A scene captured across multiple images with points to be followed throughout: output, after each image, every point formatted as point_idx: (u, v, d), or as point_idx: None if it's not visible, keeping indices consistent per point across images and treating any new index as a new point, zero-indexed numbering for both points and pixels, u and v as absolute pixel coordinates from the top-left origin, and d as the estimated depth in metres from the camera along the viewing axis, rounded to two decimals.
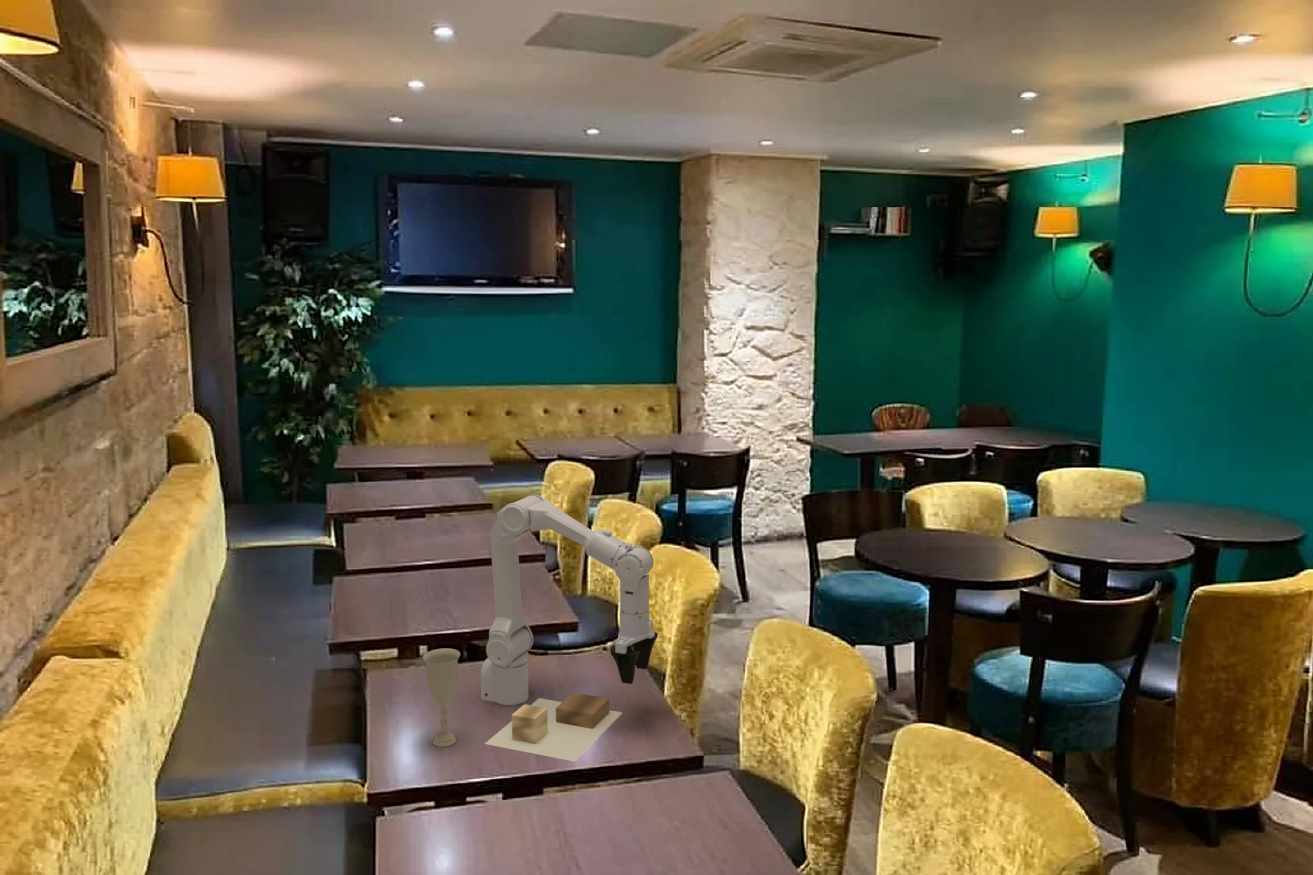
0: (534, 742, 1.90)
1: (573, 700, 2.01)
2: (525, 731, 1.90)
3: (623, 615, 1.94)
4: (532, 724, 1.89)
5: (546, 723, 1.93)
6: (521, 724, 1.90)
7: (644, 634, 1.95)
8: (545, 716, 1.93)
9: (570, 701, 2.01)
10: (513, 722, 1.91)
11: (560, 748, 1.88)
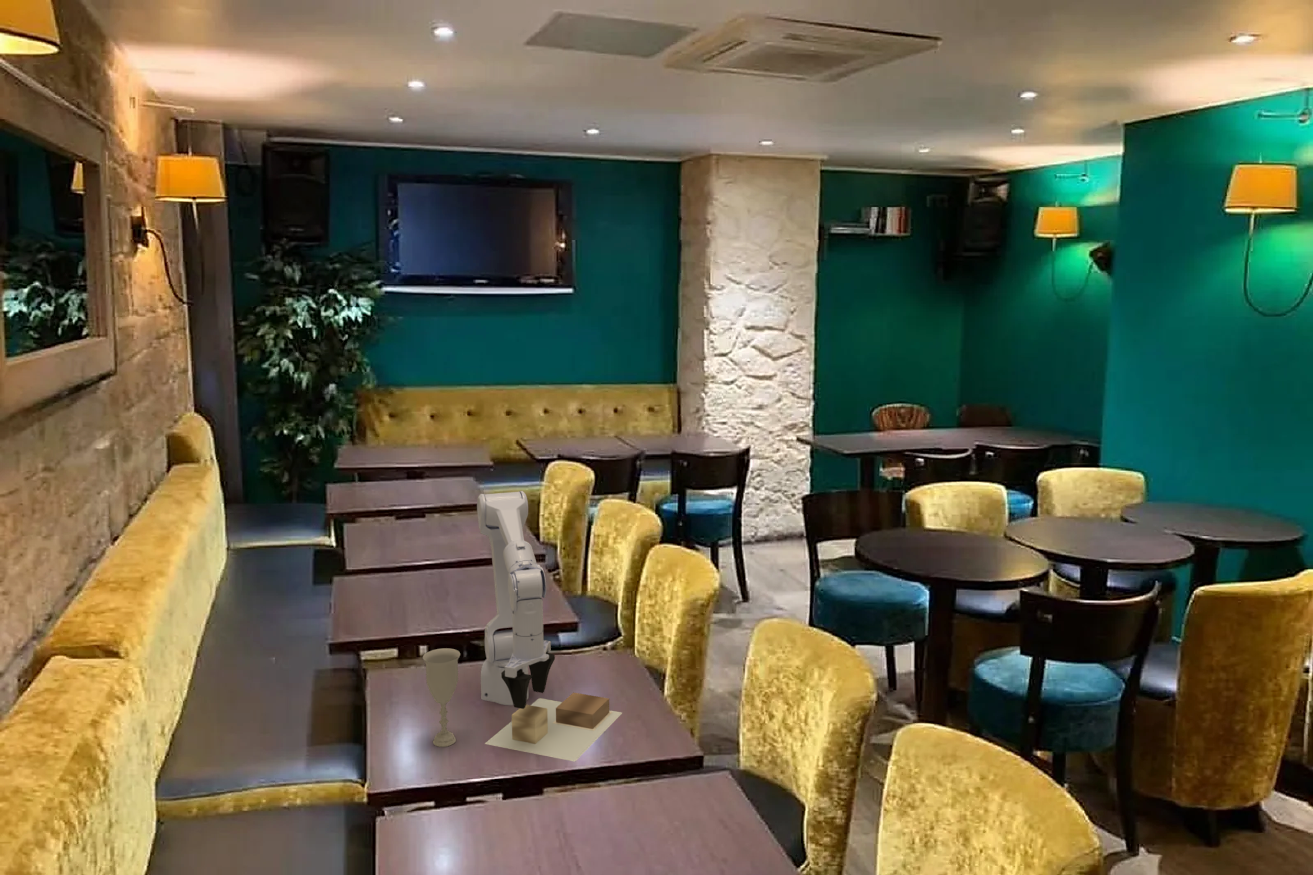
0: (534, 742, 1.90)
1: (573, 700, 2.01)
2: (525, 731, 1.90)
3: (515, 637, 1.87)
4: (532, 724, 1.89)
5: (546, 723, 1.93)
6: (521, 724, 1.90)
7: (537, 657, 1.88)
8: (545, 716, 1.93)
9: (570, 701, 2.01)
10: (513, 722, 1.91)
11: (560, 748, 1.88)
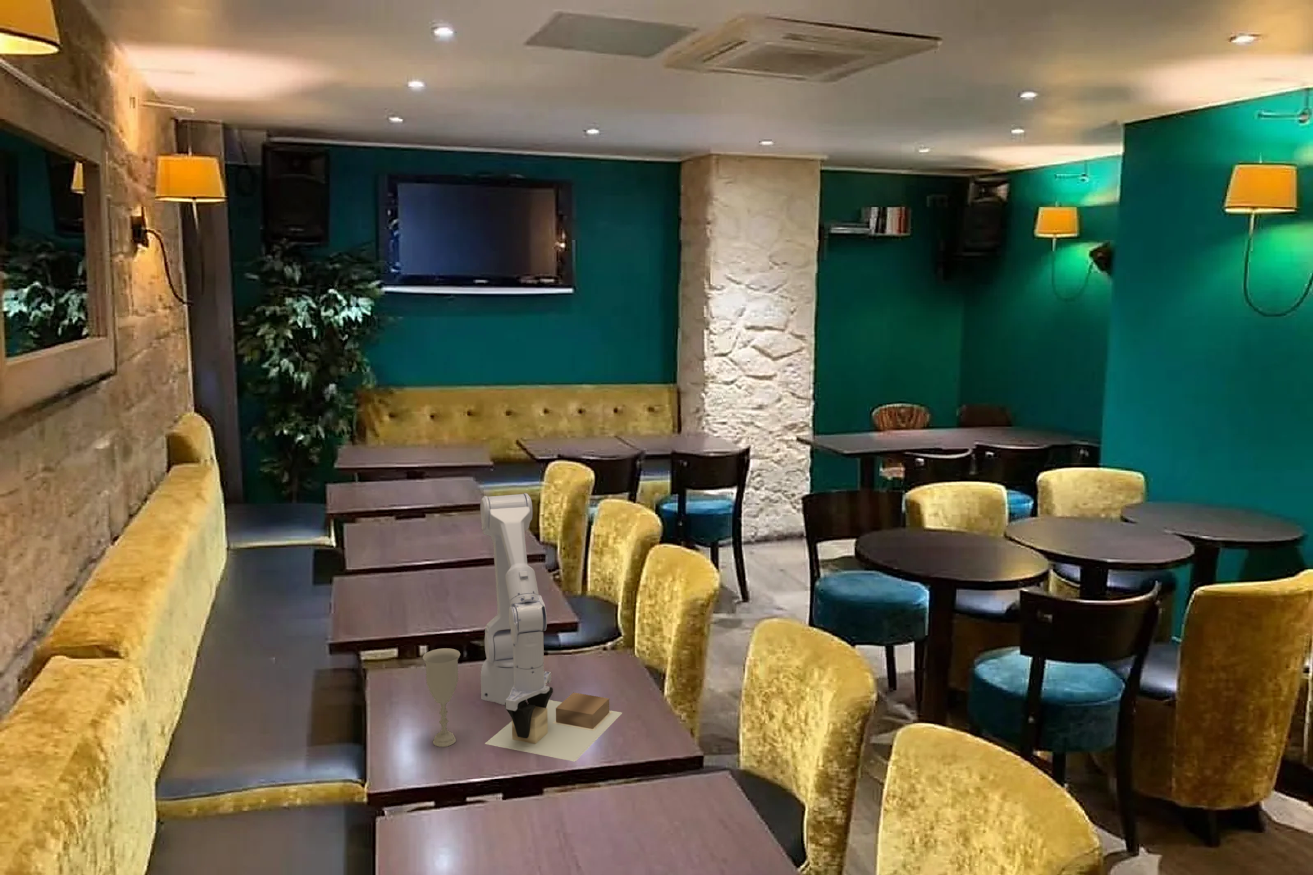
0: (534, 742, 1.90)
1: (573, 700, 2.01)
2: None
3: (516, 670, 1.88)
4: (532, 724, 1.89)
5: (546, 723, 1.93)
6: None
7: (538, 689, 1.89)
8: (545, 716, 1.93)
9: (570, 701, 2.01)
10: None
11: (560, 748, 1.88)
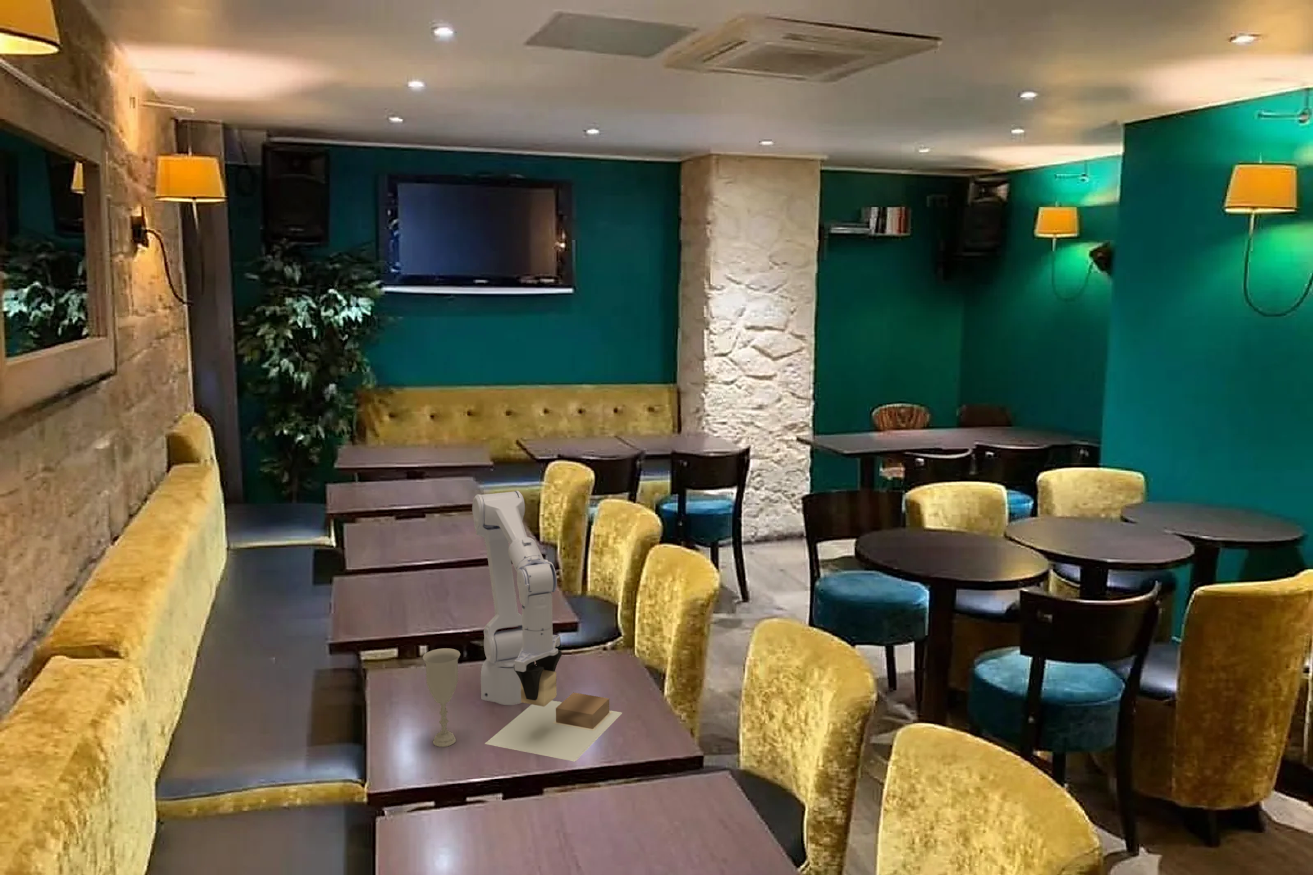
0: (543, 705, 1.90)
1: (573, 700, 2.01)
2: None
3: (525, 632, 1.89)
4: (541, 686, 1.89)
5: (555, 687, 1.94)
6: None
7: (546, 651, 1.89)
8: (554, 680, 1.93)
9: (570, 701, 2.01)
10: None
11: (560, 748, 1.88)
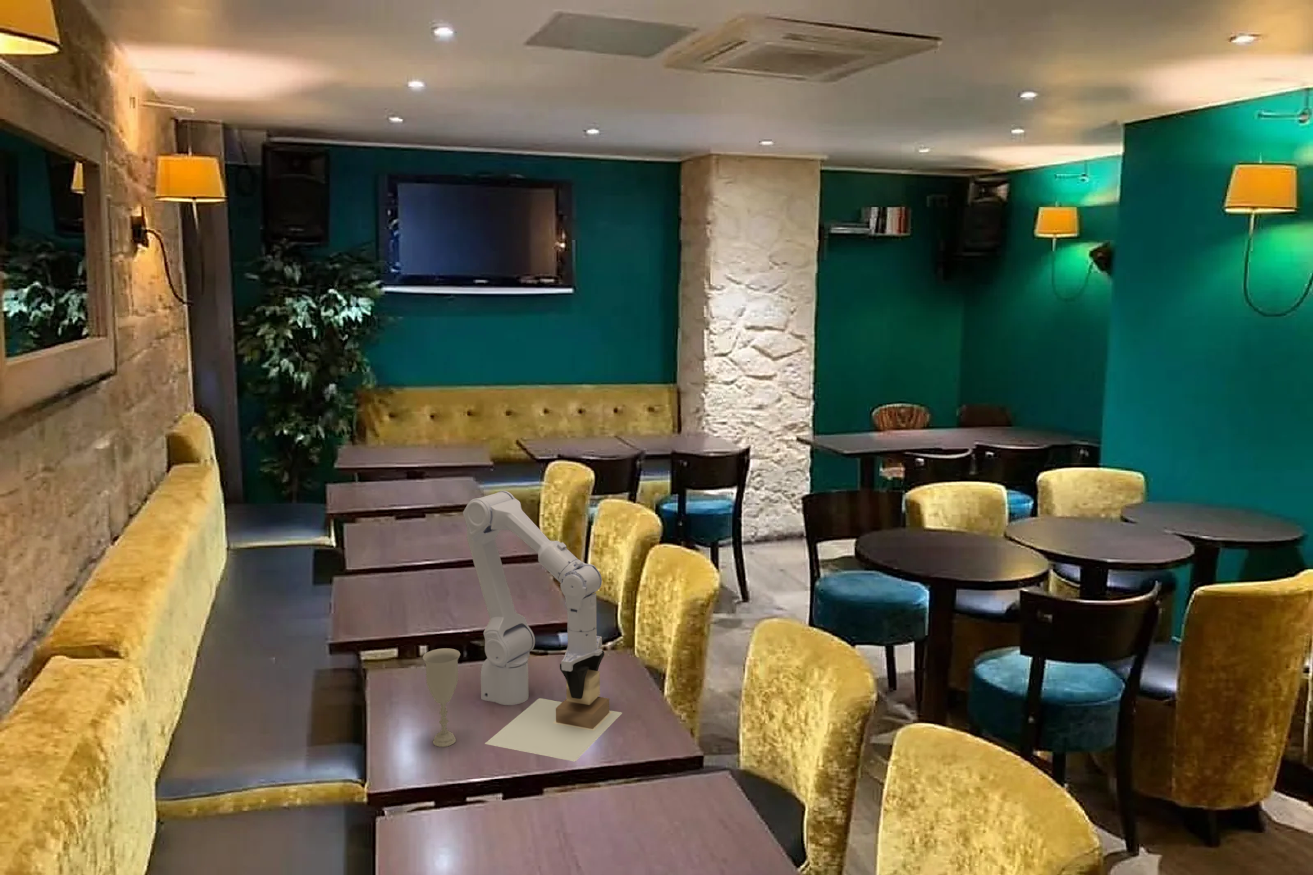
0: (588, 703, 1.97)
1: None
2: None
3: (570, 633, 1.96)
4: (586, 685, 1.96)
5: (598, 685, 2.01)
6: None
7: (591, 651, 1.96)
8: (598, 679, 2.00)
9: None
10: (567, 684, 1.98)
11: (560, 748, 1.88)
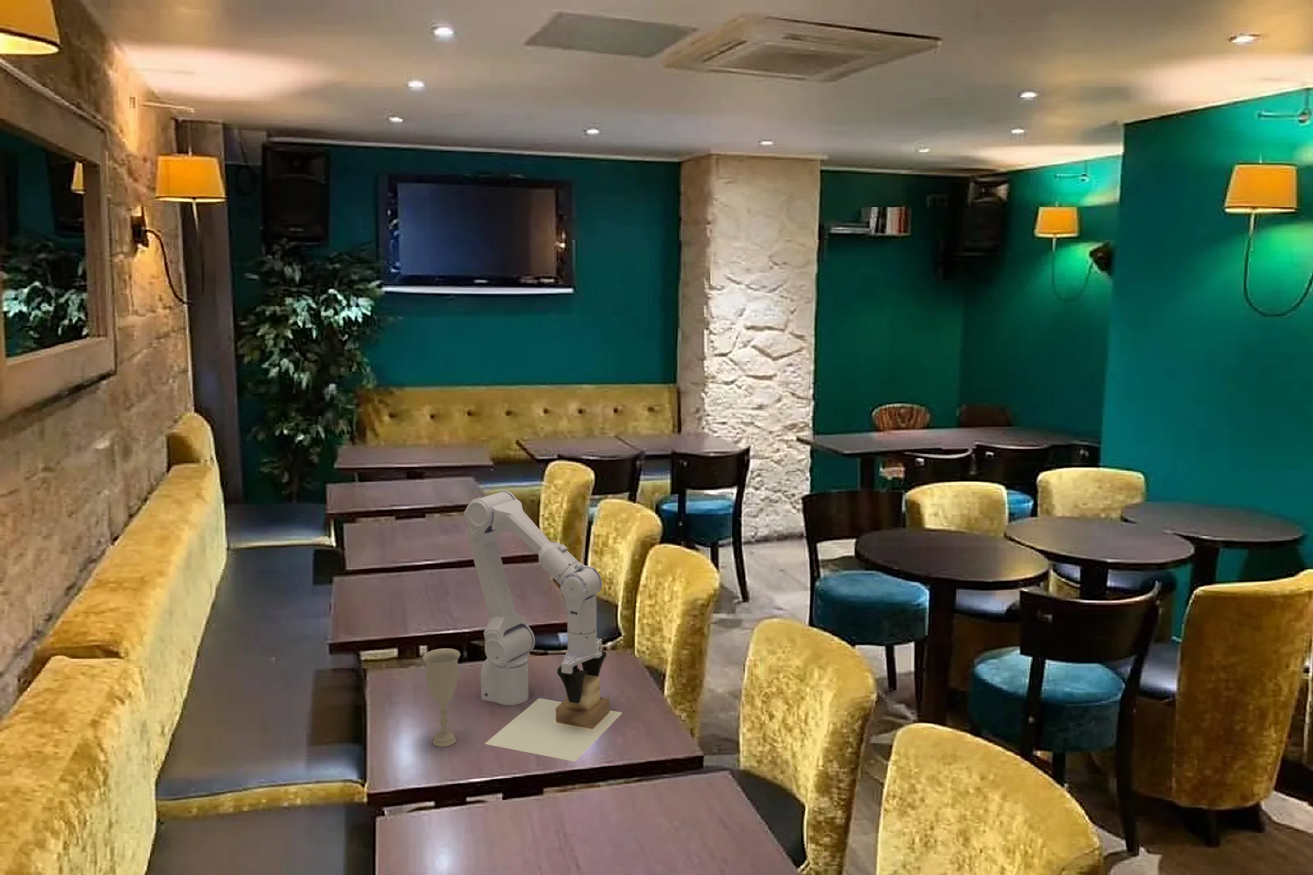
0: (588, 709, 1.97)
1: None
2: None
3: (570, 635, 1.96)
4: (586, 691, 1.96)
5: (598, 691, 2.01)
6: None
7: (591, 654, 1.96)
8: (598, 684, 2.00)
9: None
10: None
11: (560, 748, 1.88)
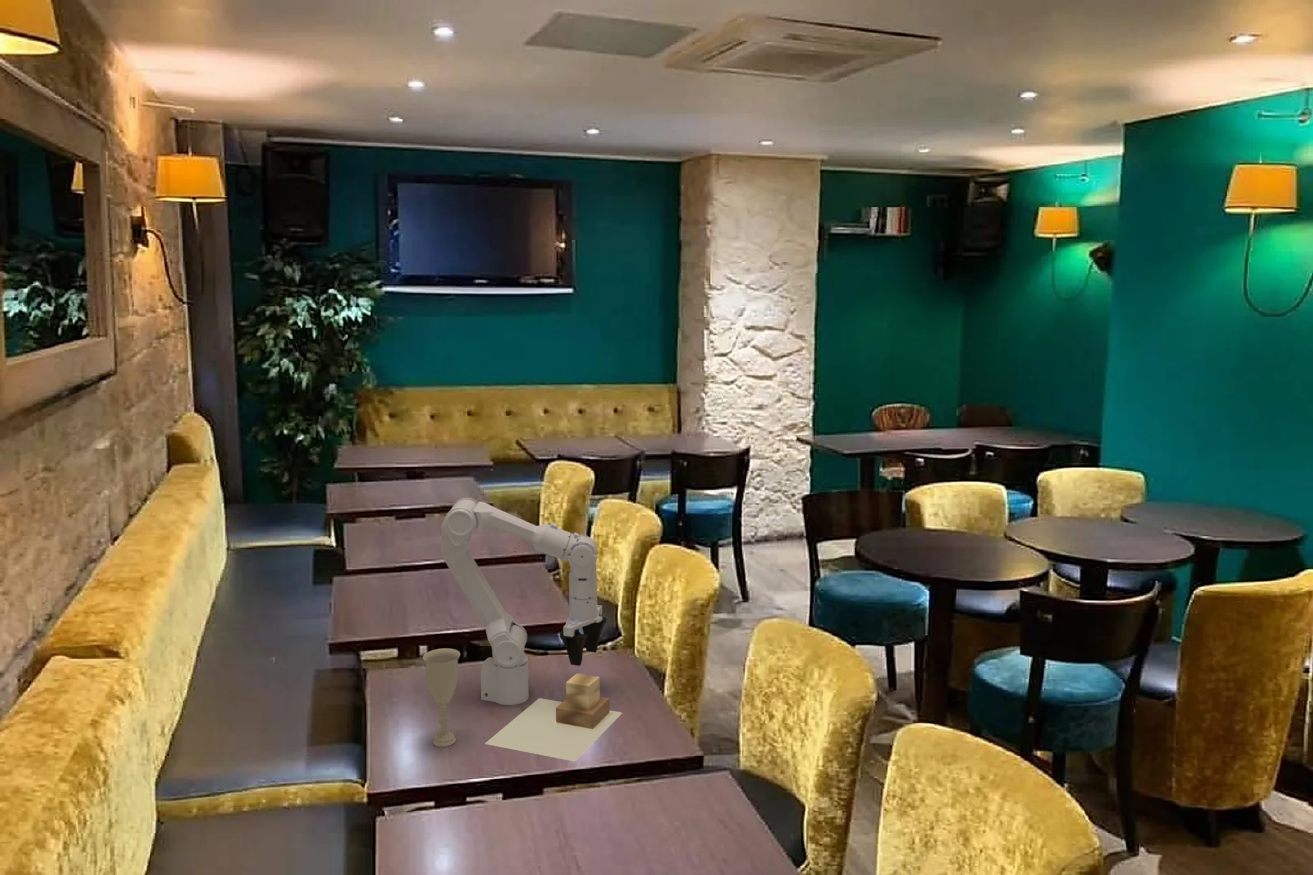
0: (588, 709, 1.97)
1: None
2: (579, 698, 1.97)
3: (572, 600, 2.05)
4: (586, 691, 1.96)
5: (598, 691, 2.01)
6: (575, 692, 1.97)
7: (592, 618, 2.05)
8: (598, 684, 2.00)
9: None
10: (567, 689, 1.98)
11: (560, 748, 1.88)
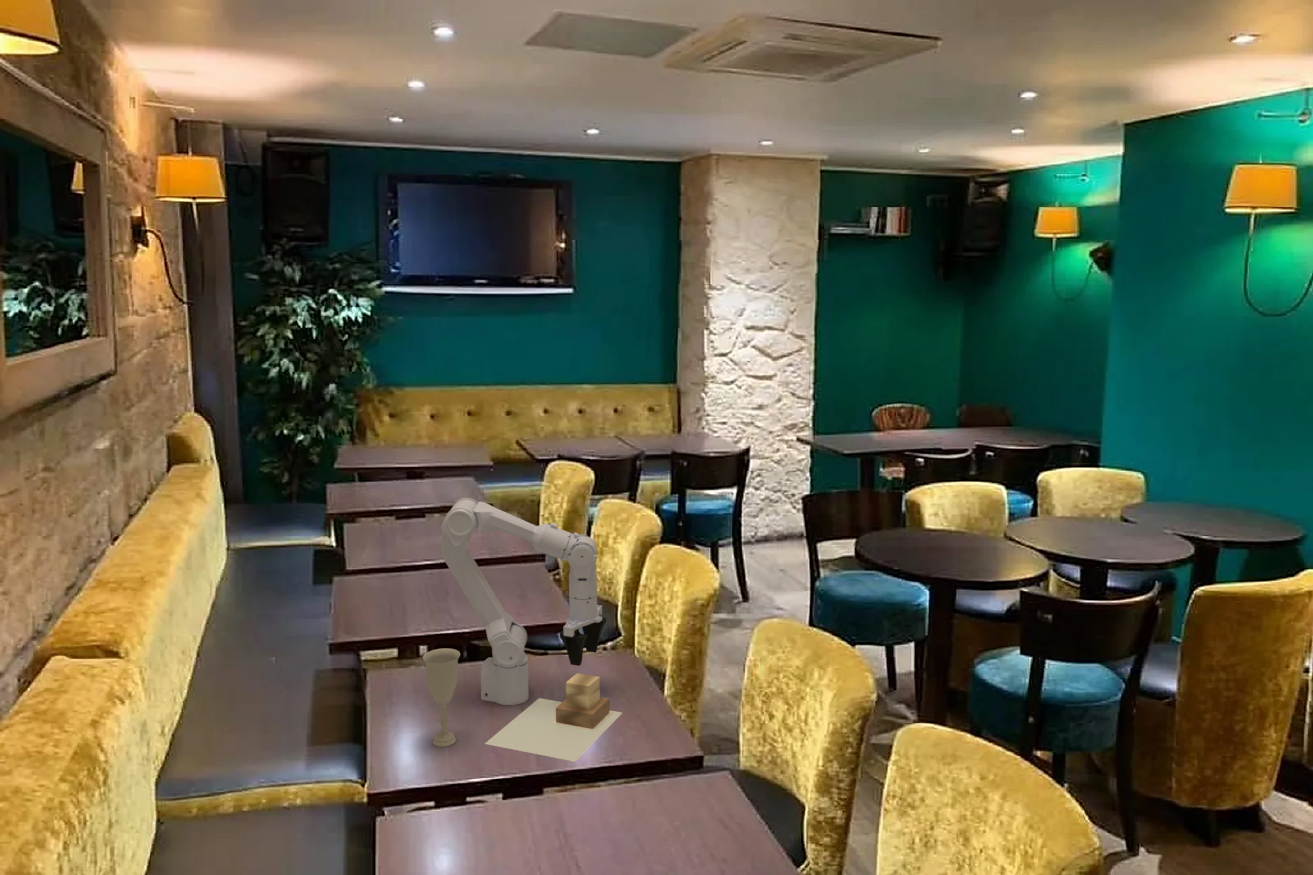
0: (588, 709, 1.97)
1: None
2: (579, 698, 1.97)
3: (572, 600, 2.05)
4: (586, 691, 1.96)
5: (598, 691, 2.01)
6: (575, 692, 1.97)
7: (592, 618, 2.05)
8: (598, 684, 2.00)
9: None
10: (567, 689, 1.98)
11: (560, 748, 1.88)
